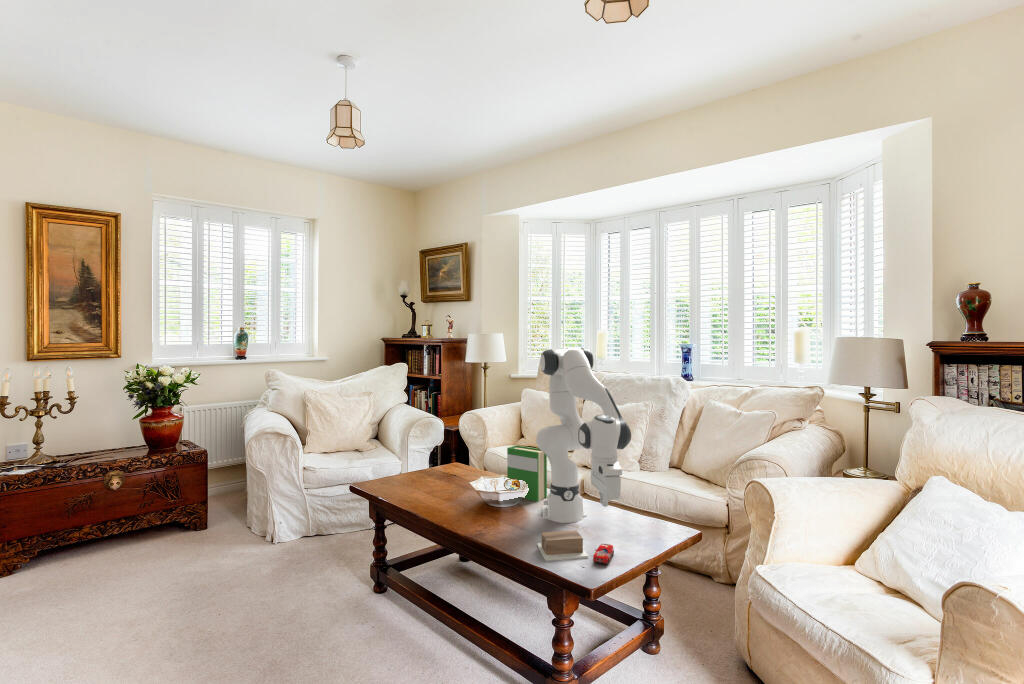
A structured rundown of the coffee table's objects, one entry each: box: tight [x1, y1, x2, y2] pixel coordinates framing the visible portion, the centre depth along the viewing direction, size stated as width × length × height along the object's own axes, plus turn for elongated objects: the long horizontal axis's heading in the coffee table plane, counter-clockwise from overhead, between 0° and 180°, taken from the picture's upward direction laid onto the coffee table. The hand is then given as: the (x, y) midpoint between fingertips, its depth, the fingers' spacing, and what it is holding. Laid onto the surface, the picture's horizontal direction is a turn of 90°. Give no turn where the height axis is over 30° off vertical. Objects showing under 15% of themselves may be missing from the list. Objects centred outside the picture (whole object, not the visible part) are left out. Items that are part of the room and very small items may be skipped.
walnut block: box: [540, 529, 584, 555], centre depth 189 cm, size 8×13×5 cm, turn 99°
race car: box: [592, 543, 615, 565], centre depth 183 cm, size 13×5×4 cm, turn 156°
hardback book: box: [506, 444, 548, 503], centre depth 252 cm, size 18×7×24 cm, turn 51°
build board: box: [536, 542, 589, 562], centre depth 189 cm, size 14×15×1 cm
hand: (604, 505), depth 180 cm, fingers closed
